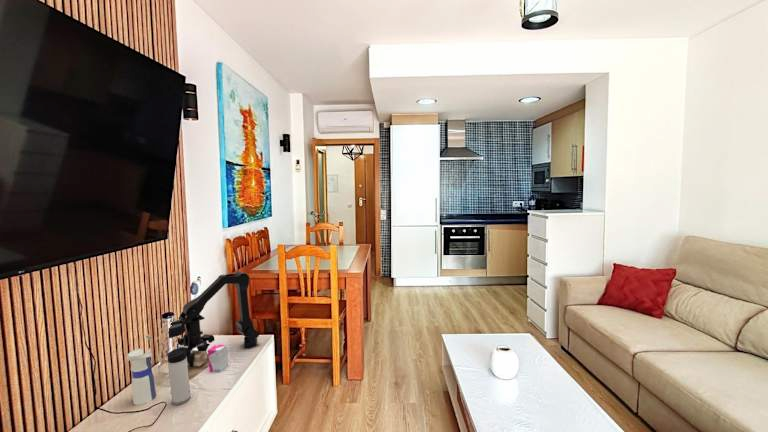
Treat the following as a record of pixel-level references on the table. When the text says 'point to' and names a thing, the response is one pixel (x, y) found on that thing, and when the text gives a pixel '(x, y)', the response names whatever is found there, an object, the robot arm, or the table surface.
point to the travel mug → (178, 376)
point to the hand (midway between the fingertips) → (196, 363)
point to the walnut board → (197, 369)
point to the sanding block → (199, 358)
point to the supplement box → (218, 358)
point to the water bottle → (142, 376)
